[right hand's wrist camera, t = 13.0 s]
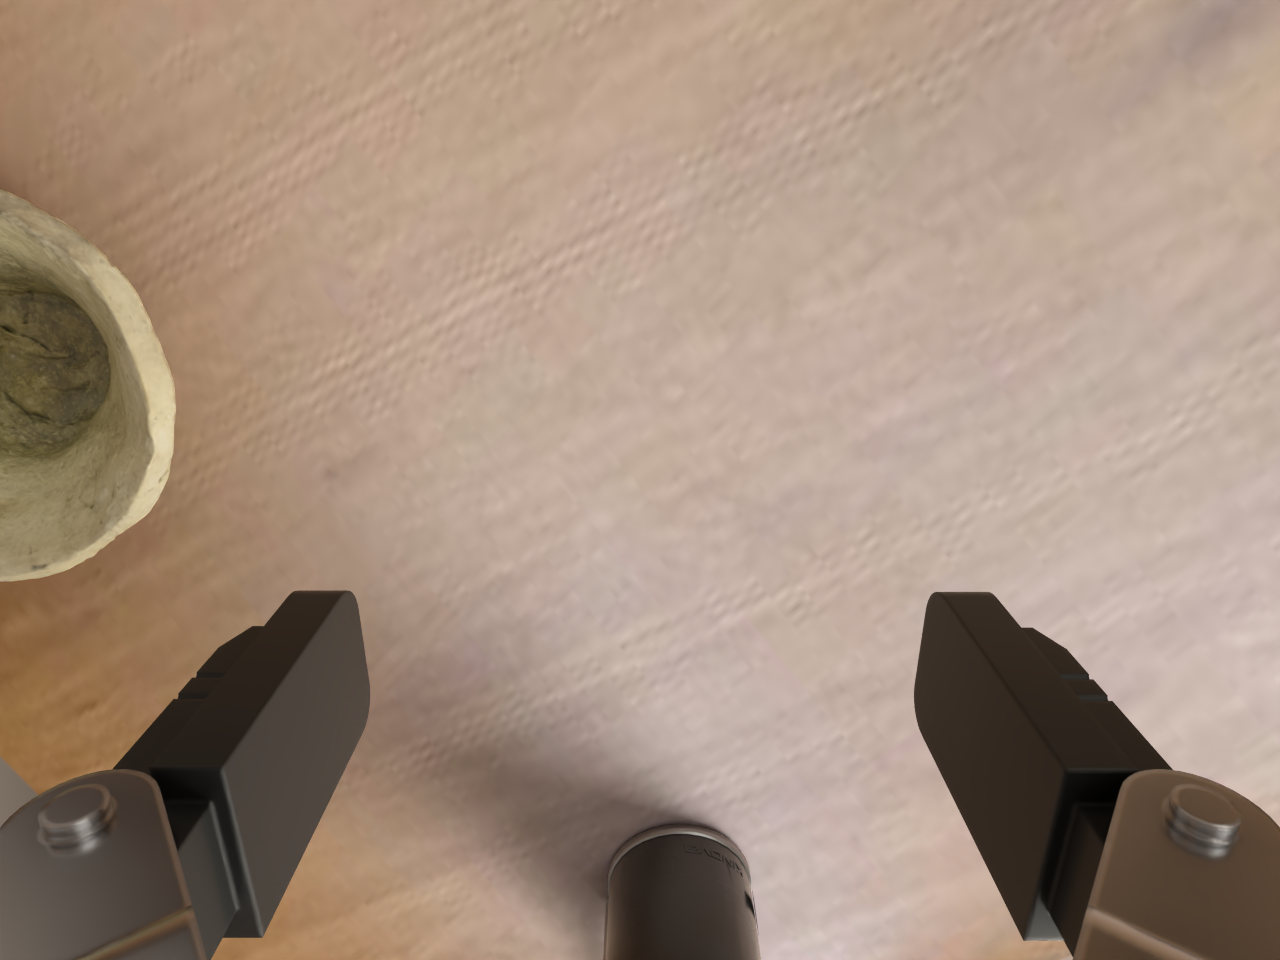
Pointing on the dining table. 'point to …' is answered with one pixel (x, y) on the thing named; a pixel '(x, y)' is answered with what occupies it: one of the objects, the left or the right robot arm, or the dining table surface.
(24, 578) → the bowl
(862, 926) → the dining table surface
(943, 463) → the dining table surface
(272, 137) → the dining table surface
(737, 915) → the right robot arm
